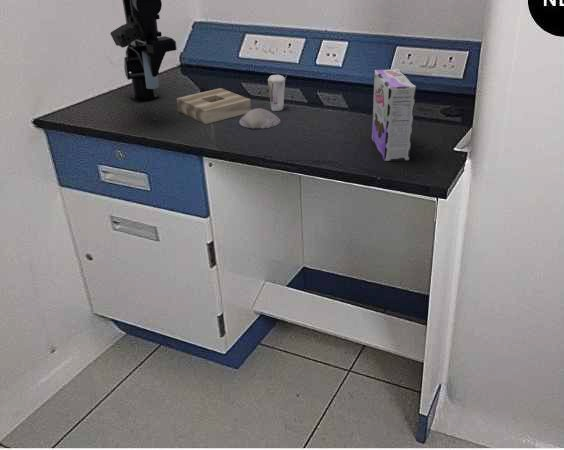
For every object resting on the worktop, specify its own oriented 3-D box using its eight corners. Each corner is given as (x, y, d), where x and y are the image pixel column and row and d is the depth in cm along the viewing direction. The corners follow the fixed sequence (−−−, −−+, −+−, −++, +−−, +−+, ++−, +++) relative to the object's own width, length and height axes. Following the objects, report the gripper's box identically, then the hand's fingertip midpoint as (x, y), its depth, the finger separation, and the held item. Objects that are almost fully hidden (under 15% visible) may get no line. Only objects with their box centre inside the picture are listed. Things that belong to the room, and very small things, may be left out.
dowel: (144, 87, 160) (139, 51, 155) (155, 84, 161) (151, 49, 157) (150, 89, 157) (145, 53, 153) (161, 87, 159) (157, 51, 155)
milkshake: (286, 112, 165) (286, 74, 160) (267, 111, 166) (265, 74, 161) (290, 107, 169) (289, 70, 164) (270, 106, 170) (269, 69, 165)
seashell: (231, 117, 154) (245, 97, 161) (235, 136, 157) (248, 115, 165) (270, 120, 151) (283, 99, 158) (273, 139, 154) (285, 118, 162)
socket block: (177, 111, 168) (176, 98, 166) (221, 100, 176) (220, 88, 174) (206, 124, 158) (204, 110, 157) (250, 112, 166) (250, 99, 164)
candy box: (370, 139, 147) (373, 69, 139) (395, 137, 147) (399, 67, 139) (383, 161, 135) (388, 86, 127) (410, 160, 135) (416, 85, 127)
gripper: (95, 10, 153) (105, 73, 160) (130, 20, 140) (139, 89, 147) (136, 4, 159) (144, 66, 166) (174, 13, 146) (180, 80, 153)
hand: (151, 75), depth 158 cm, fingers closed on dowel, 3 cm apart
